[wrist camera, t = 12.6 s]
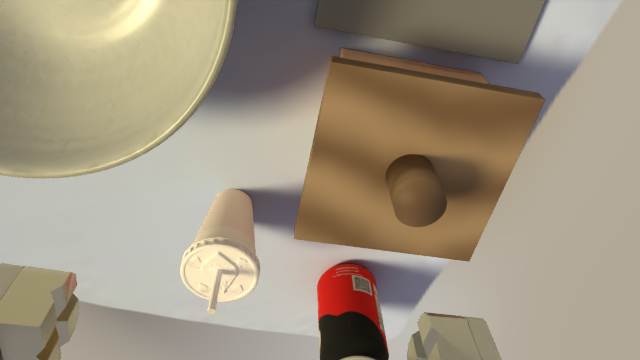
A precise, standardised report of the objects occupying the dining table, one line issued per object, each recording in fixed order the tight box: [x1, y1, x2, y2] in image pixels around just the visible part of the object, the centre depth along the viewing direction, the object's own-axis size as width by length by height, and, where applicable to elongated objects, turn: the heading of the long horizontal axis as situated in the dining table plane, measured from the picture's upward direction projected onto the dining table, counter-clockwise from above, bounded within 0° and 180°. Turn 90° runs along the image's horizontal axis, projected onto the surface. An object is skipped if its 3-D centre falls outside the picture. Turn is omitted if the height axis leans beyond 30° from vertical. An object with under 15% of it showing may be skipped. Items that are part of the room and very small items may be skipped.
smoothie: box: [180, 189, 260, 314], centre depth 42 cm, size 6×6×14 cm
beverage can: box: [317, 264, 389, 360], centre depth 49 cm, size 6×6×12 cm
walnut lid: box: [294, 56, 545, 261], centre depth 36 cm, size 15×15×5 cm
